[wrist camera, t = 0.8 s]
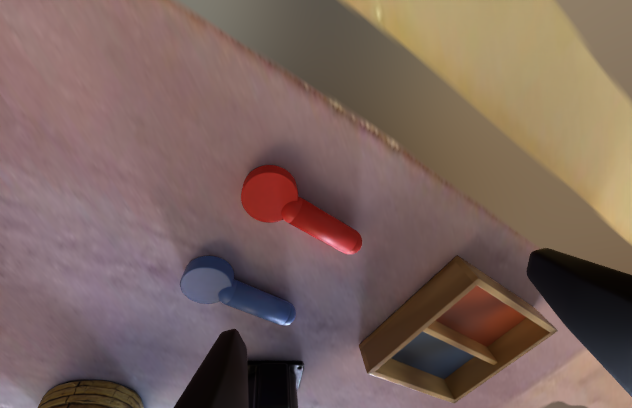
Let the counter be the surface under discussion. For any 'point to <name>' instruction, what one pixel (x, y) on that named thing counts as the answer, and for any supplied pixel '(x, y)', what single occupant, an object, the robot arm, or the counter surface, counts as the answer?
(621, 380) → the robot arm
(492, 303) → the cutlery tray
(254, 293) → the blue spoon
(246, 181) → the red spoon
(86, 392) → the wooden mug
